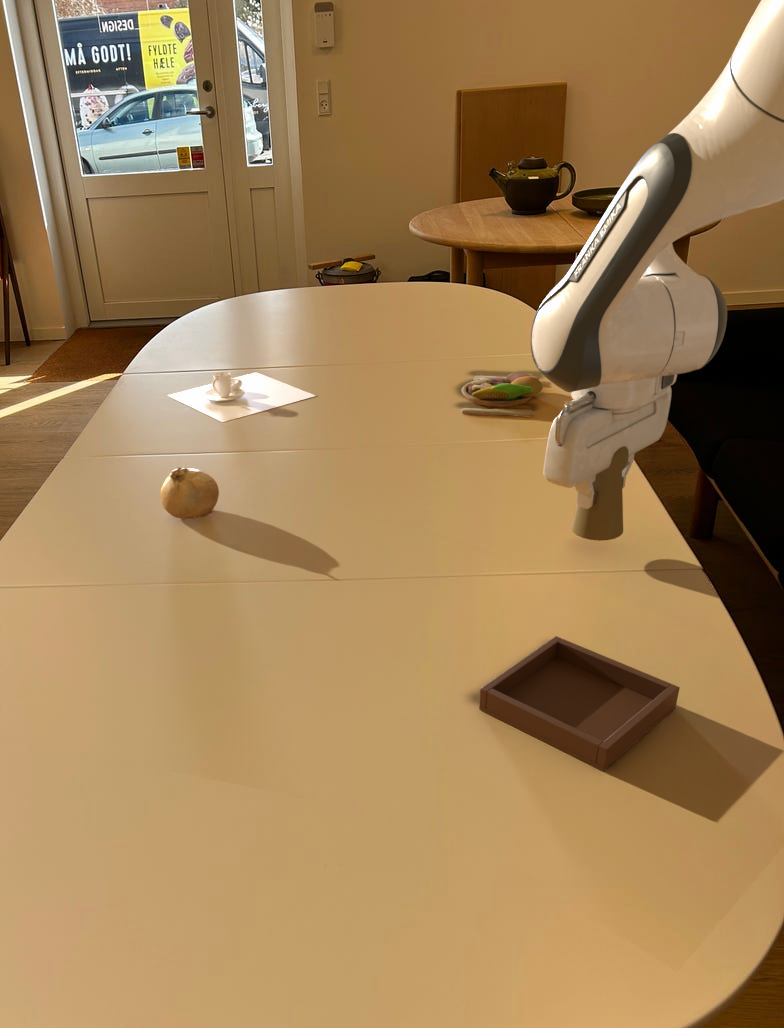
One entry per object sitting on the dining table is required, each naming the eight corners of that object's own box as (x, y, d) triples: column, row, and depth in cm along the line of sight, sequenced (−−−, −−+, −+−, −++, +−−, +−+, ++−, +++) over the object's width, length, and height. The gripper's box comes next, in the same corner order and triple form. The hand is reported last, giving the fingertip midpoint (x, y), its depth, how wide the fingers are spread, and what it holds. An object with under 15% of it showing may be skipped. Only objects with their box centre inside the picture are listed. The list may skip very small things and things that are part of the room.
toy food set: (467, 378, 179) (468, 356, 177) (543, 379, 176) (545, 357, 174) (455, 414, 163) (456, 391, 161) (539, 417, 160) (541, 393, 158)
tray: (675, 708, 92) (679, 687, 90) (603, 771, 85) (606, 749, 83) (553, 656, 100) (555, 635, 99) (478, 709, 93) (480, 688, 92)
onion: (179, 499, 139) (173, 452, 135) (229, 505, 137) (225, 457, 133) (153, 522, 133) (146, 474, 129) (206, 529, 130) (200, 480, 126)
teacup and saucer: (234, 385, 182) (232, 364, 180) (257, 395, 177) (255, 373, 175) (194, 396, 178) (191, 374, 176) (216, 406, 173) (214, 384, 171)
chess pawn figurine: (561, 531, 116) (569, 444, 110) (588, 514, 120) (597, 429, 114) (606, 545, 112) (616, 455, 106) (633, 527, 116) (644, 439, 110)
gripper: (585, 412, 99) (573, 535, 106) (686, 364, 110) (669, 477, 117) (533, 401, 103) (526, 519, 110) (636, 355, 114) (622, 465, 121)
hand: (600, 497), depth 114 cm, fingers closed on chess pawn figurine, 4 cm apart
